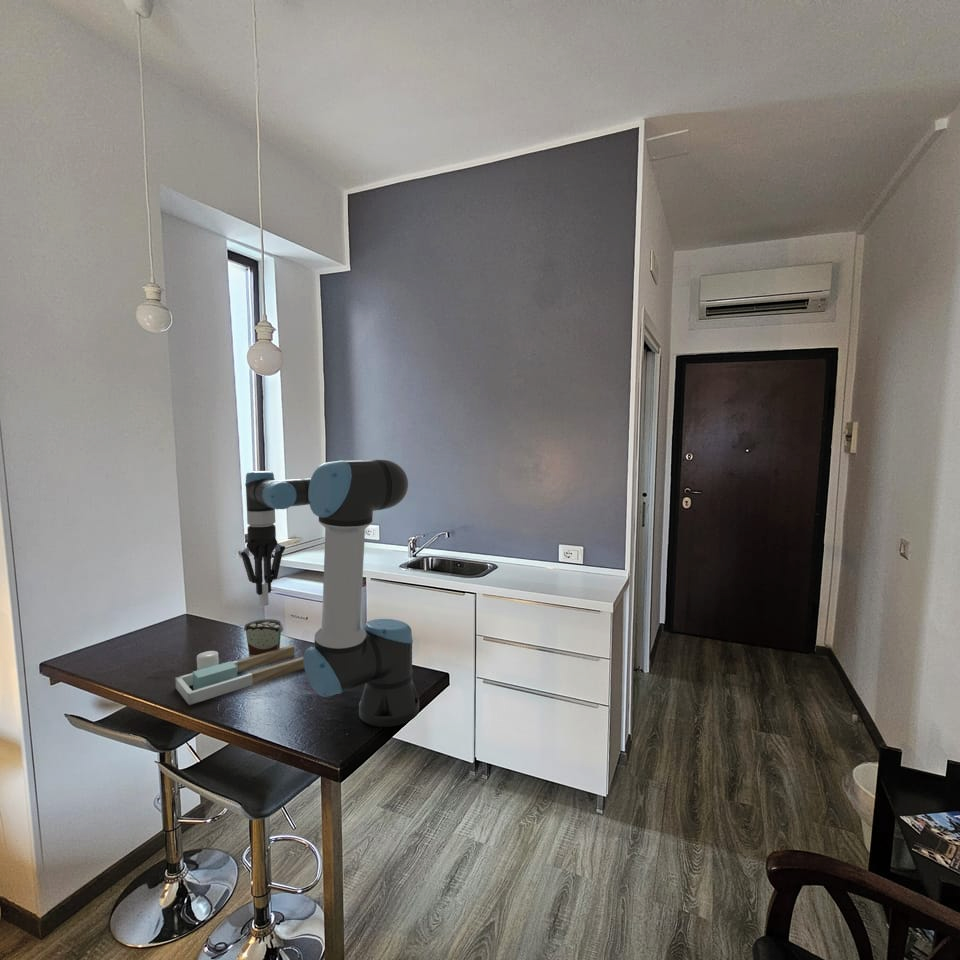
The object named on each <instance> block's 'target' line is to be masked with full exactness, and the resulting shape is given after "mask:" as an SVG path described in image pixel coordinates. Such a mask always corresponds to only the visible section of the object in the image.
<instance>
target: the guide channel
mask: <svg viewBox="0 0 960 960" xmlns="http://www.w3.org/2000/svg"><path fill="white" fill-rule="evenodd" d="M295 654H296V653H295V646H294V645H288V646H285V647H282V648H280V649H277V650H273V651H269V652H266V653H262V654H259V655H255V656H248V657H246V658H241V659H238V660H236V661H237V662H238V672H237V673H241V672H245V671H249V670H252V669H255V668H259V667H261V666H265V665H268V664H271V663H272V664H273V663H274V662H275V663H276V662H278V661H282V660H285V659H288V658H291V657H294V656H295ZM300 670H305V669H304V663H303V656H301V657H300V656H299V657H298V658H294V659H291V660H287V661H284V662H281V663H278V664H275V665H274V664H273V665H271V666H268V667H264V668H262V669H257V670H254V671H251V672H249V674H250V673H251V674H252V677H253V685H252V686H254V685H257V684H259V683H263V682H266V681H269V680H272V679H275V678H278V677H282V676H285V675H288V674H292V673H294V672H298V671H300Z"/></svg>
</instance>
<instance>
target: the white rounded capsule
mask: <svg viewBox="0 0 960 960" xmlns="http://www.w3.org/2000/svg"><path fill="white" fill-rule="evenodd" d="M219 664H220V662H219V652H218V651H216V650H208V651H204V652H200V653H199V654H197V655H196V671H197V670H201V669H204V668H208V667H211V666H215V665H219Z"/></svg>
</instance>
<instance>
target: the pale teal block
mask: <svg viewBox="0 0 960 960" xmlns="http://www.w3.org/2000/svg"><path fill="white" fill-rule="evenodd" d="M232 662H233V661H232V660H231V661H227V662H222V663H219V665H215V666H212V667H213V668H214V669H215V670H216V671H217V672H218V683H220V682H223V681H227V680H230V679H233V678H237V677H238V672H237V666H236V665H235V664H233V663H232Z"/></svg>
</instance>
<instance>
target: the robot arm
mask: <svg viewBox="0 0 960 960" xmlns="http://www.w3.org/2000/svg"><path fill="white" fill-rule="evenodd" d="M244 486H245V493H246V494H245V496H246V497H245V498H246V500H245V501H246V518H247V519H246V522H247V525H248V526H247V543H246V546H245V548H244V549H242V550H239V551H238V552H237V553H238V555H239V557H241V559H242V563H243V566H244V569H245V572H246V574H247V579H248V581H249V582H251V583H252V584H255V593H256V594H257V595H258V596H259V605H261V606H262V607H265V606H269V594H271V593H272V583H273V582H274V580H277V579H278V576H279V571H280V567H281V566H280V565H281V560H282V557H283V553H284V552H285V549H286V546H284V545H282V544H280V543H278V541H277V538H276V537H277V532H276V531H277V530H276V529H277V528H276V510H286V509H288V508H291V507H298V506H306V505H307V506H309V507H310V510H311V512H312V513H313V515H315V516H317V517H318V522H319V524H320V525H321V526H322V527H324V530H325V533H324V555H323V556H324V558H323V559H324V560H323V561H324V563H323V585H322V586H323V587H322V589H323V590H322V611H321V612H322V614H321V616H322V617H321V628H319V629H318V630H317V631H316V632H315V634H314V641H313V642H314V643H313V646H309V647H308V648H307V649H305V651H304V653H303V656H302V657H303V663H304V669H303V670H304V672H305V674H306V678H307V679H308V682H309V684H310V686H311V688H312V689H313V690H314V692H316V694H318V695H319V696H320V697H325V698H327V697H331V696H335V695H336V694H337V695H340V694H342V693H343V692H346V691H349V690H351V689H354V688H356V687H357V688H358V687H360V686H362V685H364V688H363V690H362V691H363V692H362V693H361V698H360V701H359V703H358V716H359V718H360V719H361V721H362V722H364V723H365V724H367V725H370V726H374V727H378V728H381V727H382V728H388V727H389V728H390V727H397V726H401V725H403V724H406V723H408V722H410V721H412V720H414V719H415V718H416V717H417V715H418V714H419V712H420V698H419V696H418V692H417V690H416V687H415V684H414V682H413V644H414V643H413V642H414V641H413V640H414V639H413V634H412V629H411V626H410V625H409V624H408V623H407V622H404V621H401V620H398V619H391V618H376V619H375V618H374V619H371V620H368V621H367V622H366V623H365V624H364V627H362V626H361V619H362V618H361V615H362V600H363V599H362V598H363V597H362V596H363V578H364V559H365V558H364V556H365V540H366V539H365V538H366V537H365V536H366V529H367V528H368V527H369V526H370V525H371V524H372V523H373V515H374V511H381V510H383V511H384V510H387V509H391V508H393V507H395V506H397V505H398V504H399V503H401V502H402V501H403V500H404V499H405V496H406V494H407V492H408V489H409V480H408V476H407V474H406V472H405V470H404V468H402V467H401V466H400V465H399V464H398V463H396V462H394V461H391V460H389V459H368V460H367V459H363V460H362V459H361V460H359V459H358V460H357V459H356V460H341V459H340V460H337V461H336V460H335V461H328V462H324V463H322V464H320V465H318V467H317V468H316V469H315V470H314V472H313V474H312V476H311V477H309V478H296V479H293V478H292V479H278V480H276V479H275V475H274V472H273V471H271V470H270V471H269V470H254V471H253V470H252V471H249V472H246V475H245V484H244ZM272 553H274V554H273V560H272ZM250 554H252V555H253V559H254V568H253V564H252V561H251V558H250ZM263 579H264V581H263ZM408 720H409V721H408Z"/></svg>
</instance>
